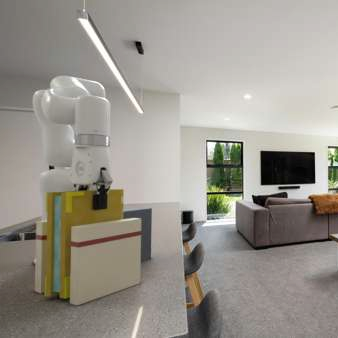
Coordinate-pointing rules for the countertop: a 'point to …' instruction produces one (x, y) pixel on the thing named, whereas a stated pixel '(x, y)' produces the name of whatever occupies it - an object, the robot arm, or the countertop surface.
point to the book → (61, 230)
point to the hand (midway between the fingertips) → (91, 208)
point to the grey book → (142, 228)
